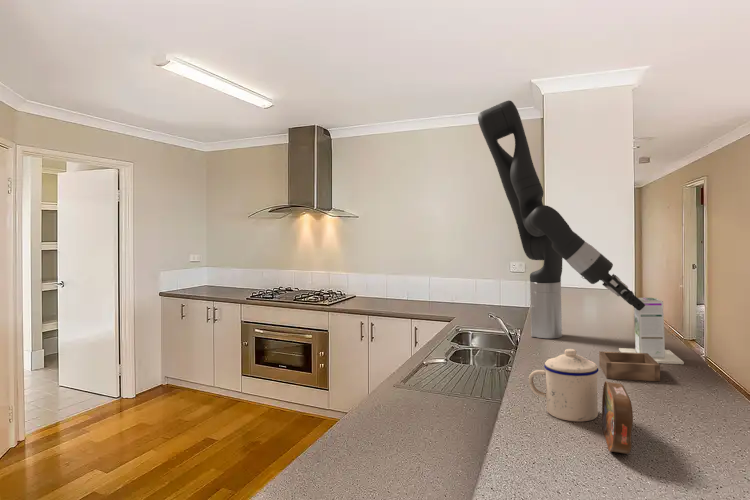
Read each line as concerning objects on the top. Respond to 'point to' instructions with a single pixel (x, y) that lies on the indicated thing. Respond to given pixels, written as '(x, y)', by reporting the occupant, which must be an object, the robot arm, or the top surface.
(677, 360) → the cream board
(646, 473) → the top surface
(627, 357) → the walnut collar
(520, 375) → the top surface
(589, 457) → the top surface
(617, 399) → the tin
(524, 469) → the top surface
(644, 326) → the syrup box
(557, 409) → the teacup with lid
